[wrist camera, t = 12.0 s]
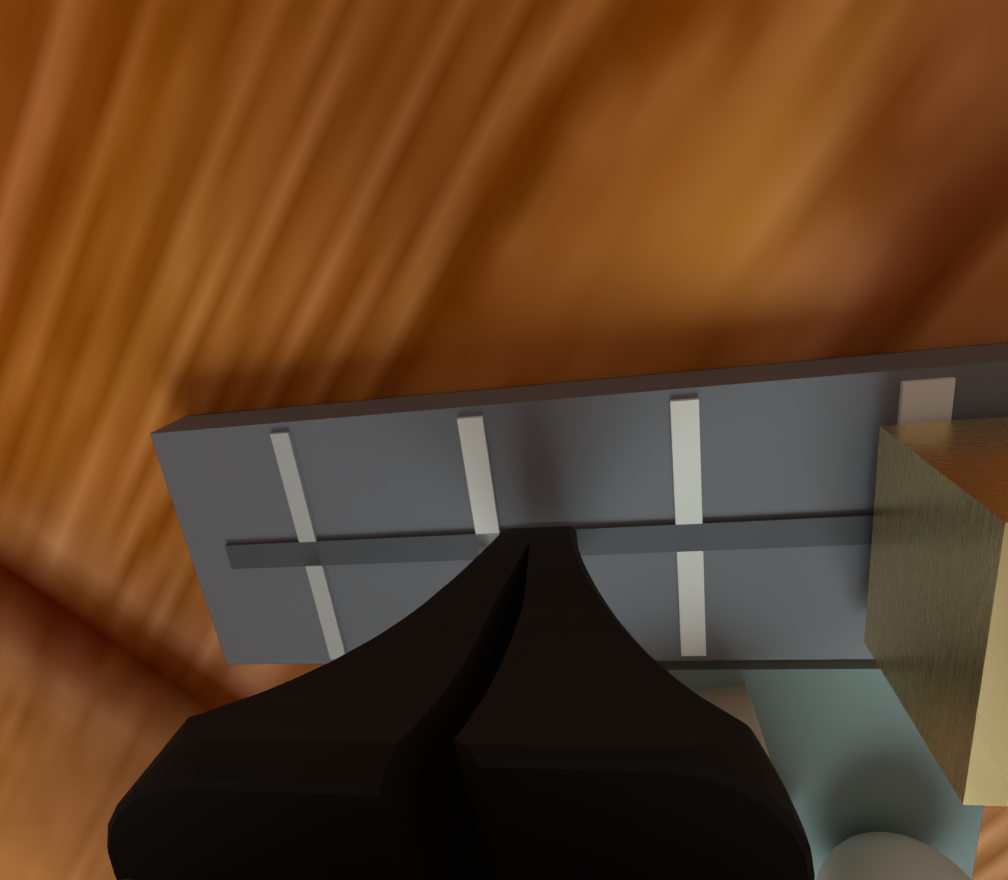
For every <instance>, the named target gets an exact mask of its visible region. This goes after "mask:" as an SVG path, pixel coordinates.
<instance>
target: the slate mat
mask: <svg viewBox="0 0 1008 880" xmlns="http://www.w3.org/2000/svg"><path fill="white" fill-rule="evenodd" d="M657 662H658V663H659V664H660V665H661V666H663V667H664V668H665V669H666V670H667V671H668V672H669V673H670V674H671V675H673V676H674V677H675V678H676V679H677V680H678V681H680V682H681V683H682V684H684V685H685V686H687V687H688V688H689V689H691V690H692V691H693V692H700V691H704V690H709V689H714V688H719V687H724V686H728V685H733V684H738V683H743V682H745V685H746V687H747V690H748V693H749V696H750V699H751V702H752V704H753V707H754V710H755V713H756V716H757V719H758V722H759V724H760V727H761V730H762V733H763V736H764V739H765V741H766V744H767V747H768V750H769V753H770V756H771V758H772V761H773V764H774V767H775V769H776V771H777V773H778V775H779V777H780V779H781V780H782V782H783V784H784V786H785V788H786V790H787V792H788V794H789V796H790V798H791V801H792V803H793V805H794V807H795V809H796V811H797V814H798V816H799V818H800V820H801V823H802V825H803V827H804V830H805V833H806V836H807V838H808V841H809V844H810V847H811V853H812V859H813V866H814V874H815V880H816V879H817V876H818V873H819V870H820V868H821V866H822V864H823V862H824V860H825V859H826V857H827V856H828V855H829V853H830V852H831V851H832V850H833V849H834V848H835V847H836V846H837V845H839V844H840V843H842V842H843V841H845V840H846V839H848V838H850V837H852V836H855V835H858V834H862V833H867V832H890V833H896V834H901V835H904V836H908V837H911V838H913V839H916V840H918V841H921V842H923V843H925V844H927V845H929V846H930V847H932V848H934V849H936V850H937V851H939V852H940V853H942V854H943V855H945V856H946V857H947V858H949V859H950V860H951V861H952V862H954V863H955V864H956V865H957V866H958V867H959V868H960V869H961V870H962V871H963V872H964V873H965V874H966V875H968V876H969V878H970V879H971V880H972V874H973V868H974V862H975V856H976V850H977V844H978V838H979V832H980V825H981V819H982V813H983V807H984V805H963V804H962V802H961V801H960V799H959V797H958V796H957V794H956V792H955V791H954V789H953V787H952V786H951V784H950V782H949V781H948V779H947V778H946V776H945V774H944V773H943V771H942V769H941V768H940V766H939V764H938V763H937V761H936V759H935V758H934V756H933V755H932V753H931V751H930V750H929V748H928V746H927V745H926V743H925V741H924V740H923V738H922V736H921V735H920V733H919V732H918V730H917V728H916V727H915V725H914V723H913V722H912V720H911V718H910V717H909V715H908V713H907V712H906V710H905V709H904V707H903V705H902V704H901V702H900V700H899V699H898V697H897V695H896V694H895V692H894V691H893V689H892V687H891V686H890V684H889V682H888V681H887V679H886V677H885V676H884V674H883V672H882V671H881V669H880V668H879V666H878V664H877V663H876V661H875V660H774V661H657Z"/></svg>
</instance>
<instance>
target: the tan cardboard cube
mask: <svg viewBox="0 0 1008 880" xmlns="http://www.w3.org/2000/svg"><path fill="white" fill-rule="evenodd" d="M864 643H865V645H866V646H867V648H868V649H869V651H870V653H871V654H872V656H873V658H874V659H875V661H876V663H877V664H878V666H879V668H880V669H881V671H882V672H883V674H884V676H885V677H886V679H887V681H888V682H889V684H890V686H891V687H892V689H893V691H894V692H895V694H896V695H897V697H898V699H899V700H900V702H901V704H902V705H903V707H904V709H905V710H906V712H907V713H908V715H909V717H910V718H911V720H912V722H913V723H914V725H915V727H916V728H917V730H918V732H919V733H920V735H921V736H922V738H923V740H924V741H925V743H926V745H927V746H928V748H929V750H930V751H931V753H932V755H933V756H934V758H935V759H936V761H937V763H938V764H939V766H940V768H941V769H942V771H943V773H944V774H945V776H946V778H947V779H948V781H949V782H950V784H951V786H952V787H953V789H954V791H955V792H956V794H957V796H958V797H959V799H960V801H961V802H962V804H963V805H987V806H1008V417H998V418H984V419H970V420H956V421H942V422H927V423H913V424H899V425H885V426H880V431H879V445H878V459H877V473H876V487H875V501H874V515H873V529H872V542H871V556H870V570H869V584H868V598H867V612H866V626H865V640H864Z"/></svg>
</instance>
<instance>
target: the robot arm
mask: <svg viewBox="0 0 1008 880" xmlns="http://www.w3.org/2000/svg"><path fill="white" fill-rule="evenodd" d="M107 847H108V854H109V857H110V860H111V864H112V867H113V870H114V873H115V876H116V879H117V880H815V874H814V866H813V859H812V853H811V847H810V844H809V841H808V838H807V836H806V833H805V830H804V827H803V825H802V823H801V820H800V818H799V816H798V814H797V811H796V809H795V807H794V805H793V803H792V801H791V798H790V796H789V794H788V792H787V790H786V788H785V786H784V784H783V782H782V780H781V779H780V777H779V775H778V773H777V771H776V769H775V768H774V766H773V764H772V762H771V760H770V759H769V757H768V755H767V754H766V752H765V750H764V749H763V747H762V745H761V744H760V742H759V740H758V739H757V737H756V735H755V734H754V732H753V731H752V729H751V728H750V727H749V726H748V725H747V724H745V723H744V722H742V721H740V720H739V719H737V718H735V717H734V716H732V715H730V714H729V713H727V712H725V711H724V710H722V709H721V708H719V707H717V706H716V705H714V704H712V703H711V702H709V701H707V700H706V699H704V698H702V697H701V696H699V695H698V694H696V693H695V692H693V691H692V690H691V689H689V688H688V687H687V686H685V685H684V684H682V683H681V682H680V681H678V680H677V679H676V678H675V677H674V676H673V675H671V674H670V673H669V672H668V671H667V670H666V669H665V668H664V667H663V666H661V665H660V664H659V663H658V662H657V661H656V660H655V659H654V658H652V657H651V656H650V655H649V654H648V653H647V652H646V651H645V650H644V649H643V648H642V647H641V646H640V644H639V643H638V642H637V641H636V640H635V639H634V638H633V637H632V636H631V635H630V633H629V632H628V631H627V630H626V629H625V627H624V626H623V625H622V624H621V623H620V621H619V620H618V619H617V617H616V616H615V615H614V613H613V612H612V611H611V609H610V608H609V606H608V605H607V603H606V602H605V600H604V599H603V597H602V596H601V594H600V592H599V591H598V589H597V587H596V586H595V584H594V582H593V580H592V578H591V576H590V574H589V572H588V570H587V568H586V567H585V564H584V562H583V560H582V557H581V554H580V552H579V549H578V540H577V531H576V530H574V529H573V528H572V527H571V526H557V527H534V528H512V529H505V530H504V531H503V532H501V533H500V534H499V535H498V536H497V537H496V538H495V539H494V540H493V541H492V542H491V543H490V544H489V545H488V546H487V547H486V548H485V549H484V550H483V551H482V552H481V553H480V554H479V555H478V556H477V557H476V558H475V559H474V560H473V561H472V562H471V563H470V564H469V565H468V566H467V567H466V568H465V569H463V570H462V571H461V572H460V573H459V574H458V575H457V576H456V577H455V578H454V579H453V580H451V581H450V582H449V583H448V584H447V585H445V586H444V587H443V588H442V589H441V590H439V591H438V592H437V593H436V594H435V595H433V596H432V597H431V598H430V599H429V600H428V601H426V602H425V603H424V604H423V605H421V606H420V607H419V608H417V609H416V610H415V611H413V612H412V613H411V614H409V615H408V616H406V617H405V618H404V619H402V620H401V621H399V622H398V623H396V624H395V625H393V626H392V627H390V628H389V629H387V630H386V631H384V632H383V633H381V634H379V635H378V636H376V637H375V638H373V639H371V640H369V641H367V642H366V643H364V644H362V645H360V646H358V647H357V648H355V649H353V650H351V651H349V652H348V653H346V654H344V655H342V656H340V657H339V658H337V659H335V660H333V661H331V662H329V663H327V664H325V665H323V666H321V667H319V668H317V669H315V670H313V671H311V672H308V673H306V674H304V675H302V676H300V677H297V678H295V679H293V680H290V681H288V682H286V683H283V684H281V685H279V686H276V687H274V688H272V689H269V690H266V691H264V692H261V693H259V694H256V695H253V696H251V697H248V698H245V699H242V700H239V701H236V702H233V703H231V704H228V705H225V706H222V707H219V708H216V709H214V710H211V711H208V712H205V713H202V714H199V715H195V716H192V717H189V718H188V719H187V720H186V721H185V723H184V724H183V725H182V726H181V727H180V729H179V730H178V731H177V732H176V733H175V735H174V736H173V737H172V738H171V740H170V741H169V742H168V743H167V744H166V746H165V747H164V748H163V749H162V751H161V752H160V753H159V754H158V756H157V757H156V758H155V759H154V760H153V762H152V763H151V764H150V765H149V767H148V768H147V769H146V770H145V771H144V773H143V774H142V775H141V776H140V778H139V779H138V780H137V781H136V783H135V784H134V785H133V786H132V787H131V789H130V790H129V791H128V792H127V794H126V795H125V796H124V797H123V798H122V800H121V801H120V802H119V803H118V805H117V807H116V809H115V811H114V813H113V815H112V817H111V819H110V821H109V823H108V842H107Z"/></svg>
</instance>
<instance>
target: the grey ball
mask: <svg viewBox="0 0 1008 880" xmlns="http://www.w3.org/2000/svg"><path fill="white" fill-rule="evenodd" d="M816 880H971V879H970V878H969V876H968V875H966V874H965V873H964V872H963V871H962V870H961V869H960V868H959V867H958V866H957V865H956V864H955V863H954V862H952V861H951V860H950V859H949V858H947V857H946V856H945V855H943V854H942V853H940V852H939V851H937V850H936V849H934V848H932V847H930V846H929V845H927V844H925V843H923V842H921V841H918V840H916V839H913V838H911V837H908V836H904V835H901V834H896V833H890V832H867V833H862V834H858V835H855V836H852V837H850V838H848V839H846V840H845V841H843V842H842V843H840V844H839V845H837V846H836V847H835V848H834V849H833V850H832V851H831V852H830V853H829V855H828V856H827V857H826V859H825V860H824V862H823V864H822V866H821V868H820V870H819V873H818V876H817V879H816Z"/></svg>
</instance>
